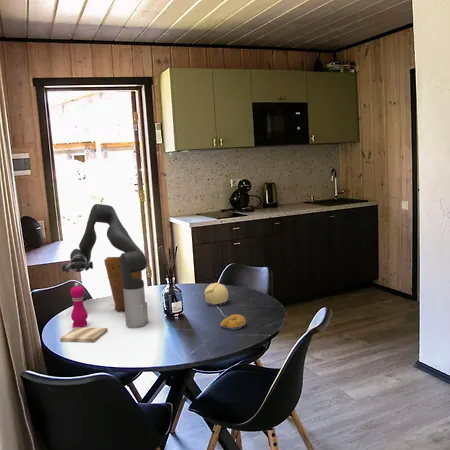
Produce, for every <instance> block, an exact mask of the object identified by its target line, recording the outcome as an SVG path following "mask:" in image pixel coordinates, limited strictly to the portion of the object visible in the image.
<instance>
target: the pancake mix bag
mask: <svg viewBox="0 0 450 450" xmlns="http://www.w3.org/2000/svg"><path fill="white" fill-rule="evenodd" d="M103 262H104V265H105V269H106V274H107V279H108V283H109V286H110V291H111V294H112V298H113V302H114V311H116V312H117V313H119V312H120V313H125V305H124V291H123V283H122V275H121V267H120V256H108V257H106V258H104V261H103ZM142 271H143V270H142ZM142 271H139V272H133V273H131V276H132V277H133V278H138V279H142V280H143V278H142V277H143V275H142Z"/></svg>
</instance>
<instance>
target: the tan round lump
mask: <svg viewBox="0 0 450 450" xmlns="http://www.w3.org/2000/svg"><path fill="white" fill-rule="evenodd" d="M204 298H205V301H206V303H208V304H209V303H212V304H218V303H223V302H226V301H227V302H228V299H229V291H228V288H227V287H226V286H225V285H224V284H223V283H222V284H221V283H218V282H213V283H210V284H208V286H207V287H206V288H205V290H204ZM227 302H226V303H227Z"/></svg>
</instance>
